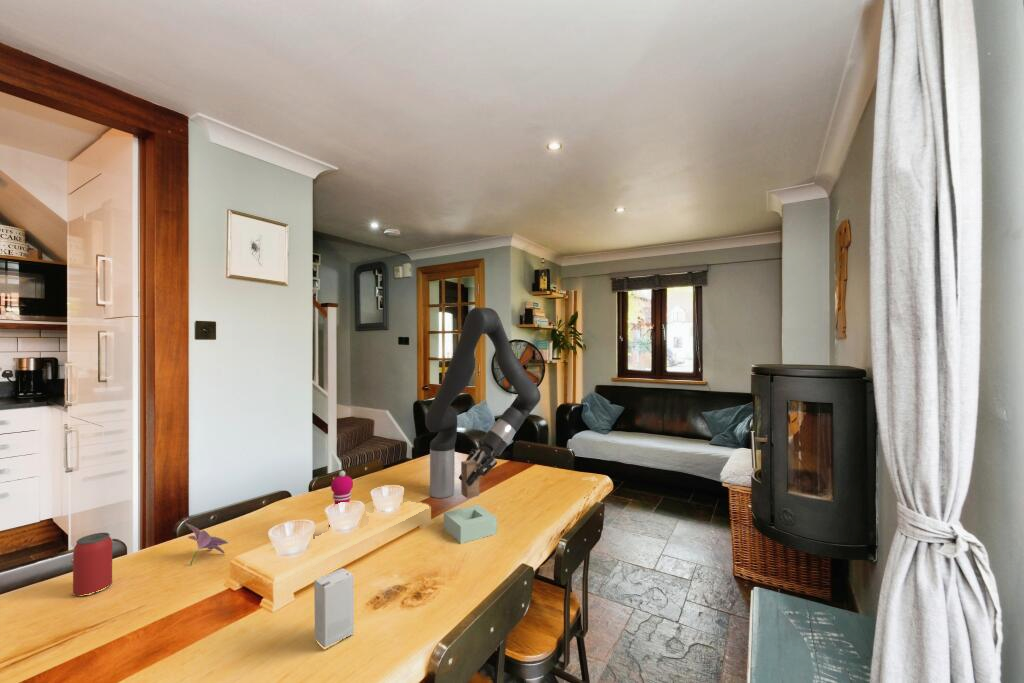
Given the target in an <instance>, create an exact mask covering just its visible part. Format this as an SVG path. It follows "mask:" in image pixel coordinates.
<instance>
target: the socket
mask: <svg viewBox="0 0 1024 683" xmlns="http://www.w3.org/2000/svg"><path fill="white" fill-rule="evenodd" d="M443 530H445V531H446V533H448V534H449V533H450V534H451V535H452V536H453V539H455V540H456V542H458V541H459V542H460V543H462V544H465V542H466V543H469V542H472V540H473V541H476V539H477V540H480V539H483V537H484V538H488V537H491V536H494V534H495V535H497V534H498V517H497V516H496V515H495V514H493V513H491V512H490V511H488V510H487V509H485V508H484V507H482V506H480V505H479V504H475V505H471V506H467V507H463V508H462V507H461V508H458V509H454V510H449V511H445V512H443ZM450 534H449V535H450ZM451 535H450V536H451ZM452 536H451V537H452ZM487 536H488V537H487ZM468 541H469V542H468ZM459 542H458V543H459ZM460 543H459V544H460Z"/></svg>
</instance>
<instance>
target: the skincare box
mask: <svg viewBox="0 0 1024 683" xmlns="http://www.w3.org/2000/svg"><path fill="white" fill-rule="evenodd" d="M313 584H314V586H313V588H314V591H313V592H314V593H313V594H314V640H315V639H316V640H317V641H318V642H319V643H320V644H321V645H322V646H323V647H327V646H329V645H331V644H333V643H335V642H337V641H340V640H341V639H343V638H344V637H347V636H349V635H351V634H353V633H355V629H354V625H355V623H354V622H355V621H354V618H355V617H354V614H355V613H354V612H355V611H354V607H355V606H354V603H355V602H354V599H355V598H354V592H355V590H354V588H355V587H354V574H353V572H350V571H348V570H347V569H345V568H340V569H337V570H336V571H333V572H330V573H328V574H326V575H324V576H320V577H318V578H316V579H315V580H314V582H313ZM353 635H354V634H353ZM351 636H352V635H351Z"/></svg>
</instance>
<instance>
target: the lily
mask: <svg viewBox="0 0 1024 683" xmlns="http://www.w3.org/2000/svg"><path fill="white" fill-rule="evenodd" d="M185 525H186V526H187V527H188V528H189V529H190V530H191V531H192V532H193V533H194V535H189V536H188V537H187V538H188V539H190V540H194V541H195V542H196V541H197V550H196V551H195V553H194V555H193V557H192V559H191V562H190V564H189V566H190V565H191V566H192V564H193V562H194V560H195V557H196V555H197V554H198V553H199V551H200V550H203V549H208V550H209V549H210V550H209V551H212V550H213V549H215V550H217V551H218V552H220V553H222V554H224V553H225V554H226V552H225V551H224V550H223V549H222V548H221V547H220V546H222V545H226V544H229V542H228V541H227V540H225V539H223V538H221V537H217V536H213V535H210V534H209V533H208V531H206V530H204V529H202V530H200V529H199V528H198V527H196V526H194V525H192V524H189V523H185Z"/></svg>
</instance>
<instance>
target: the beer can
mask: <svg viewBox="0 0 1024 683" xmlns="http://www.w3.org/2000/svg"><path fill="white" fill-rule="evenodd" d="M110 535H111V534H110V533H109V532H97V533H93V534H89V535H85V536H82V537H81V538H79V539H77V540H76V542H75V543H76V544H75V545H74V548H73V551H72V552H73V553H72V556H73V557H72V594H73V595H74V594H75V595H74V596H76V595H84V594H89V593H92V592H96V591H98V590H101V589H103V588H105V587H107V586H108V585H110V584H111V585H112V583H113V540H112V538H111V536H110ZM111 585H110V586H111ZM107 588H108V587H107Z"/></svg>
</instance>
